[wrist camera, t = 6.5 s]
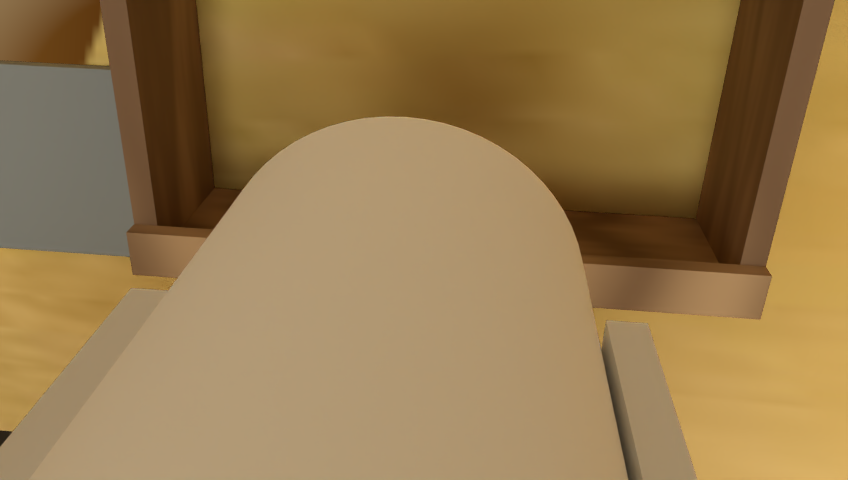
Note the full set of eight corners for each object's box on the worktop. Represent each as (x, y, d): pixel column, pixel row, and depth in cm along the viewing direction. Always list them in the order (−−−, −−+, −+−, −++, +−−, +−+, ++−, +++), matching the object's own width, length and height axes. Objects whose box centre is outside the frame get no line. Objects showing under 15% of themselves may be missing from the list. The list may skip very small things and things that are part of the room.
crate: (197, 204, 40) (133, 279, 33) (158, -141, 33) (66, -137, 26) (712, 238, 39) (759, 324, 32) (791, -119, 31) (873, -109, 24)
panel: (4, 242, 42) (-2, 247, 42) (-40, 58, 38) (-48, 61, 37) (184, 255, 42) (180, 260, 41) (161, 69, 37) (156, 72, 37)
